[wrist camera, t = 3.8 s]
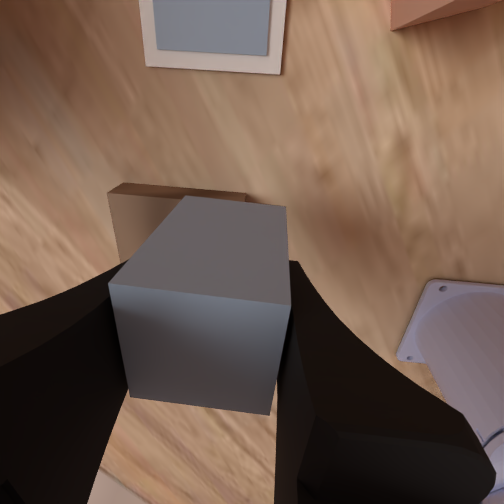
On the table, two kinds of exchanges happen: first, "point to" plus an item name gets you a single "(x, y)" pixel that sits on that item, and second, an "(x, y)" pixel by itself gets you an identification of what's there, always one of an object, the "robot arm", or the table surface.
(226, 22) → the tile
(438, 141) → the table surface
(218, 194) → the walnut slab
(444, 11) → the terracotta block
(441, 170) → the table surface
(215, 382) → the blue block
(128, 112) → the table surface
